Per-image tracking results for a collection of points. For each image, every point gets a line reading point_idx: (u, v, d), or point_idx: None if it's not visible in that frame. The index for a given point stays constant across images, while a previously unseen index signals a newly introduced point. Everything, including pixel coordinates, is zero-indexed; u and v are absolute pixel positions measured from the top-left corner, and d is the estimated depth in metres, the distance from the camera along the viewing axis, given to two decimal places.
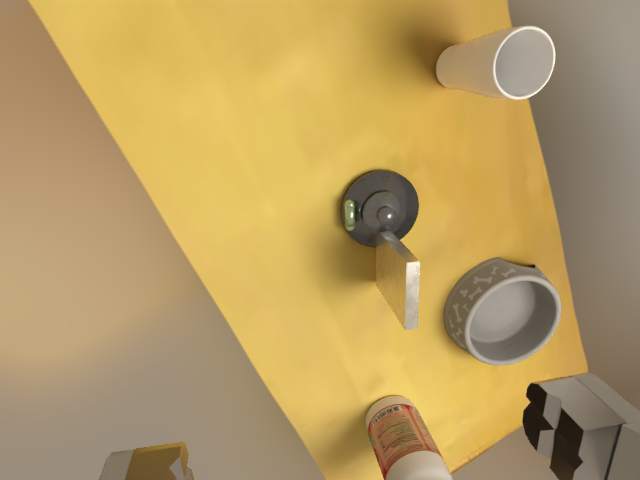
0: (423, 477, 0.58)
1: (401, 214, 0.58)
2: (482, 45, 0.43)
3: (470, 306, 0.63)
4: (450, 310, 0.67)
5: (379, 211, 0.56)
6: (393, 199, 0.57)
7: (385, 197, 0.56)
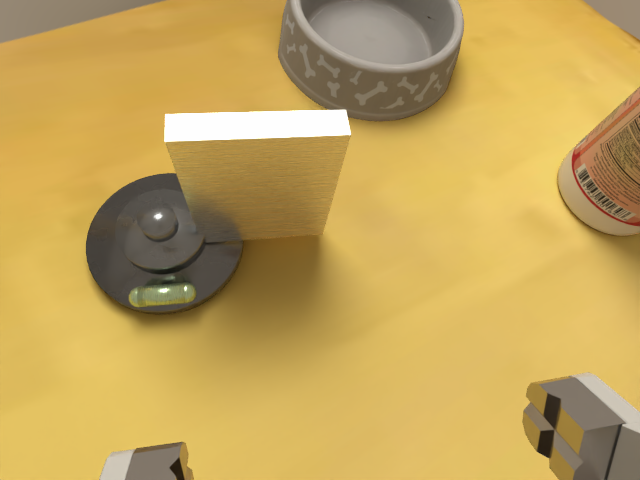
0: None
1: (165, 197, 0.30)
2: None
3: (350, 67, 0.35)
4: (371, 108, 0.38)
5: (147, 235, 0.28)
6: (132, 214, 0.30)
7: (125, 228, 0.29)
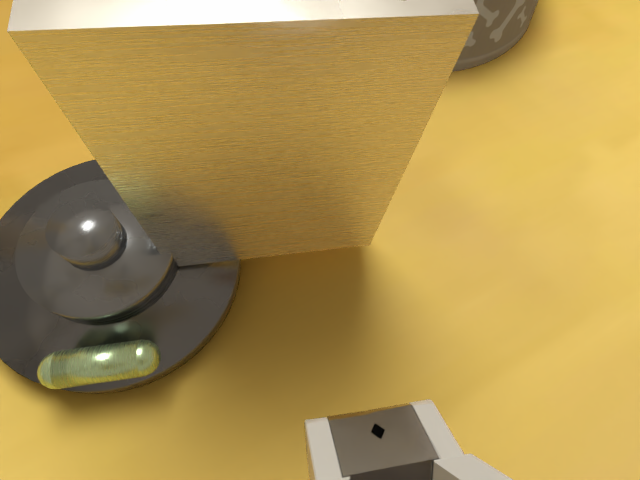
0: None
1: (106, 192, 0.18)
2: None
3: None
4: None
5: (68, 261, 0.16)
6: None
7: (33, 248, 0.17)
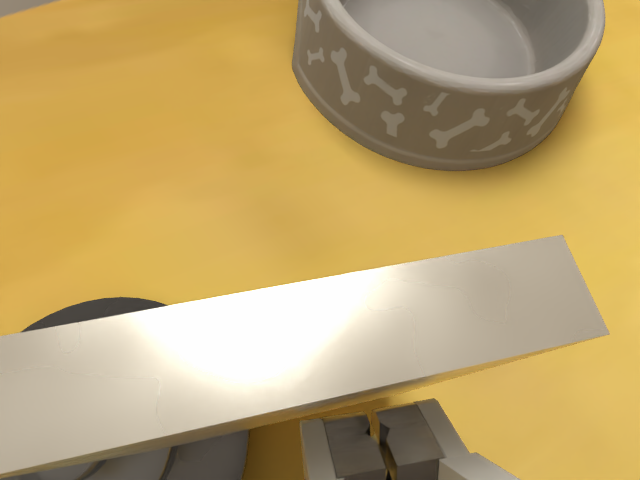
0: None
1: None
2: None
3: (427, 87, 0.20)
4: (456, 152, 0.22)
5: None
6: None
7: None
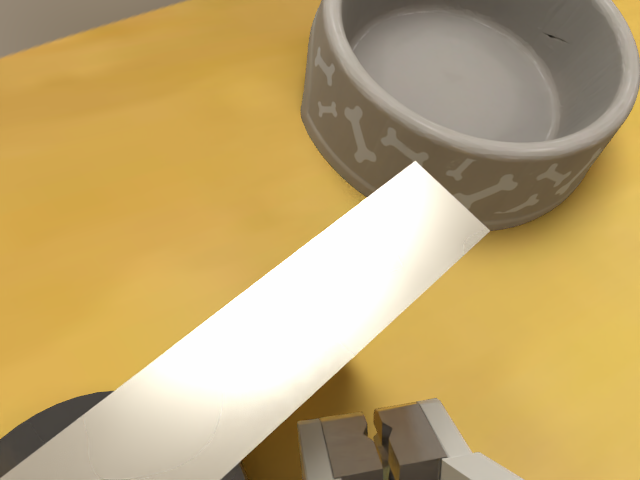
0: None
1: None
2: None
3: (452, 153, 0.18)
4: (479, 214, 0.21)
5: None
6: None
7: None
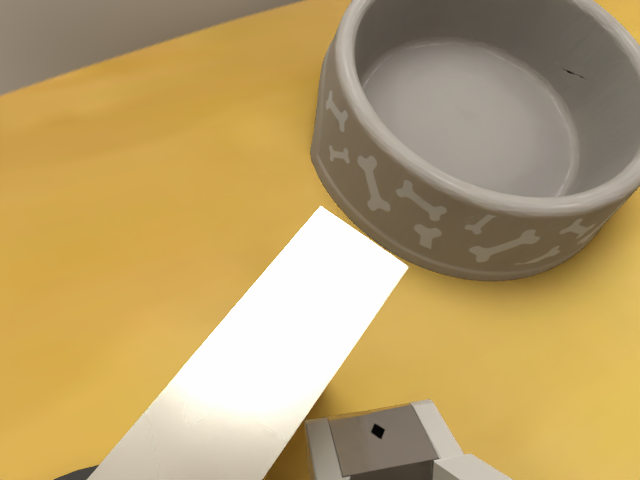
0: None
1: None
2: None
3: (472, 209, 0.17)
4: (497, 265, 0.20)
5: None
6: None
7: None
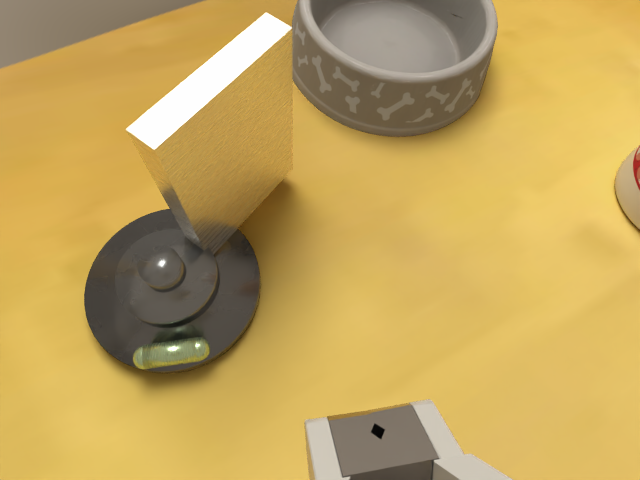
0: None
1: (141, 248, 0.26)
2: None
3: (371, 79, 0.31)
4: (396, 123, 0.34)
5: (166, 288, 0.25)
6: (129, 286, 0.25)
7: (136, 302, 0.25)
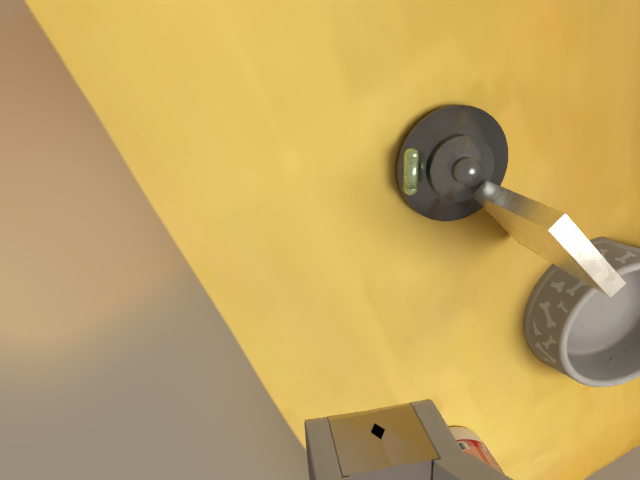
0: None
1: (483, 152, 0.38)
2: None
3: (571, 305, 0.44)
4: (535, 310, 0.48)
5: (454, 174, 0.38)
6: (459, 146, 0.38)
7: (447, 152, 0.38)
